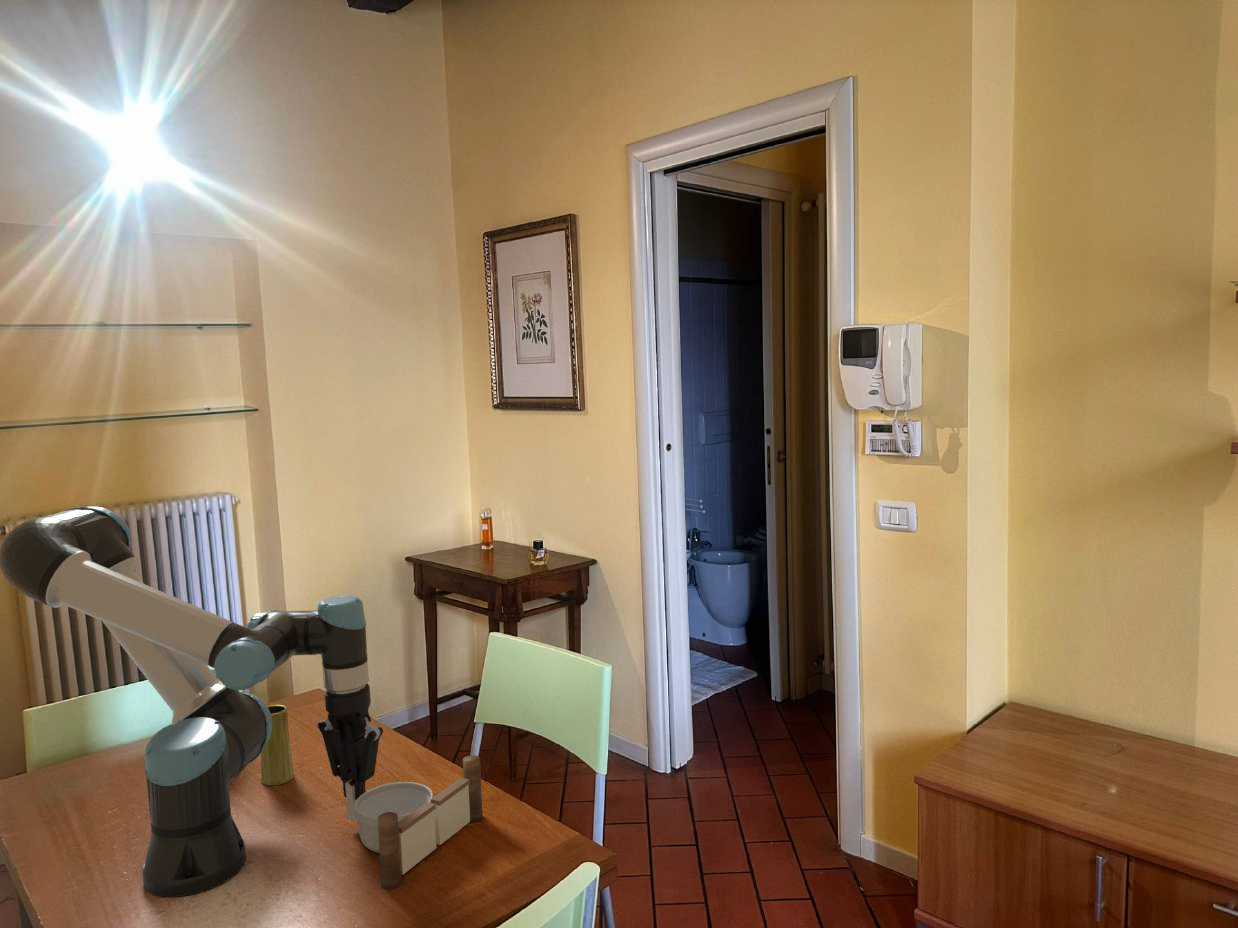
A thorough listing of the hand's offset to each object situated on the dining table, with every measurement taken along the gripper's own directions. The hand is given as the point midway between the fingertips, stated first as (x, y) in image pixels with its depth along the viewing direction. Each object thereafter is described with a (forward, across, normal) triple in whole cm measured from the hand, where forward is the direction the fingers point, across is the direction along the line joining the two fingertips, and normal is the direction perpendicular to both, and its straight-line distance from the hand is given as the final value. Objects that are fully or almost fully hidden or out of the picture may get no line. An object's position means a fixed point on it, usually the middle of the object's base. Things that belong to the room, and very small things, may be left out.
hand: (356, 815), depth 157 cm
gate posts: (+2, -17, 0) cm, 17 cm away
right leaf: (+2, -17, -4) cm, 18 cm away
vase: (+2, +28, -8) cm, 29 cm away
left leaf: (+2, -17, +5) cm, 18 cm away
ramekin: (+2, -9, 0) cm, 9 cm away
